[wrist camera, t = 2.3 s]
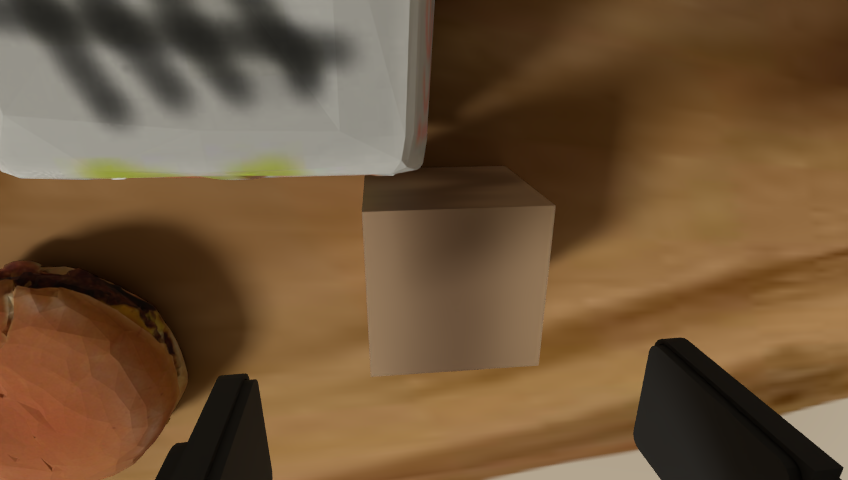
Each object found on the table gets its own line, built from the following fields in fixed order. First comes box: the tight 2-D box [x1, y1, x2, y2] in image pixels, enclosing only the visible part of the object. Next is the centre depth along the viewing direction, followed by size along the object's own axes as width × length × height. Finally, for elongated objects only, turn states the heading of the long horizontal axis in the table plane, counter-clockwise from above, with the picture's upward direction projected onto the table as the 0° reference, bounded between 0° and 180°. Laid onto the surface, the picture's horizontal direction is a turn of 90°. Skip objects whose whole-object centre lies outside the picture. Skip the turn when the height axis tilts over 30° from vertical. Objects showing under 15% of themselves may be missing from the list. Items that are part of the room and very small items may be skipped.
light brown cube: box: [362, 166, 556, 377], centre depth 18 cm, size 6×6×6 cm
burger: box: [0, 261, 188, 480], centre depth 19 cm, size 10×9×5 cm
